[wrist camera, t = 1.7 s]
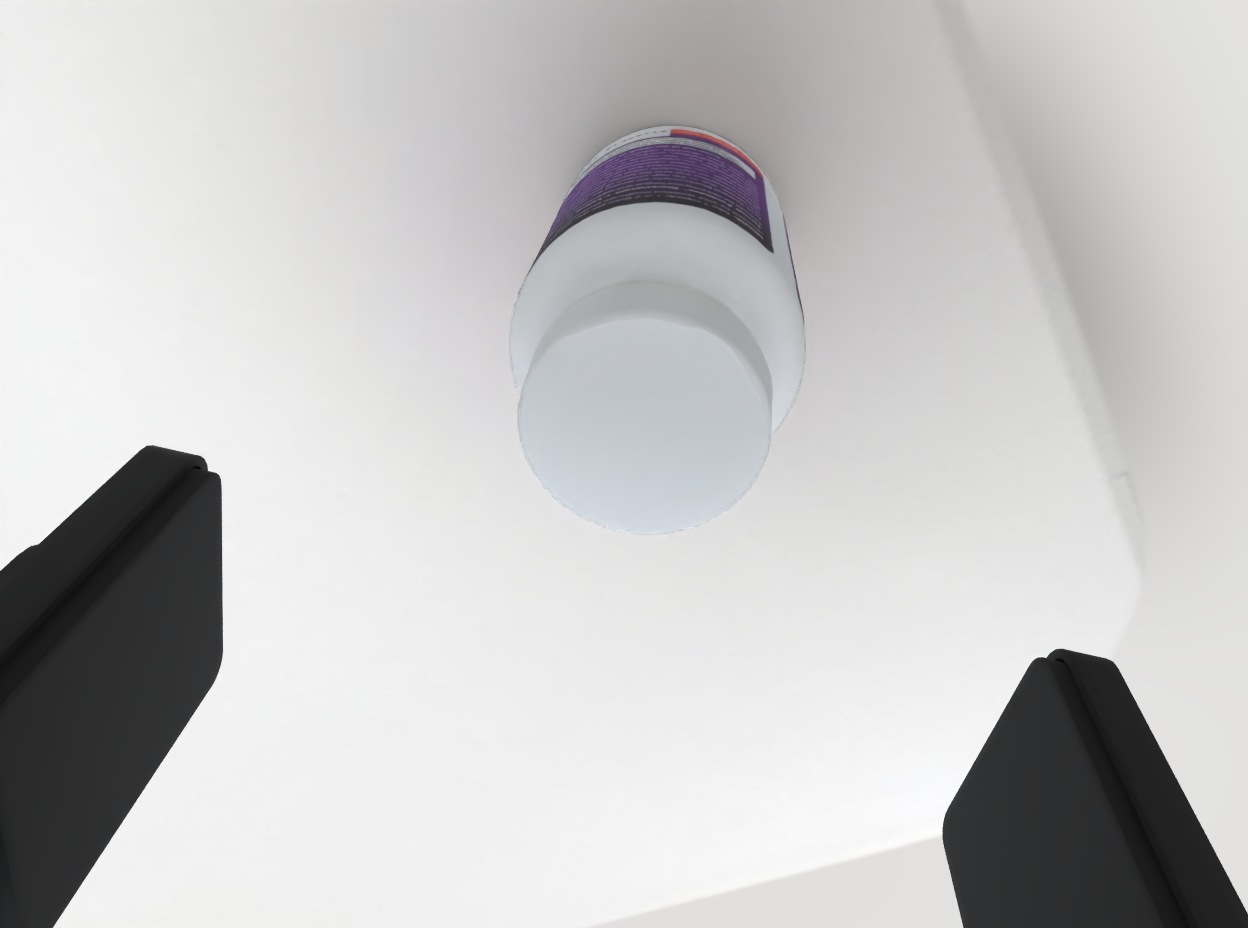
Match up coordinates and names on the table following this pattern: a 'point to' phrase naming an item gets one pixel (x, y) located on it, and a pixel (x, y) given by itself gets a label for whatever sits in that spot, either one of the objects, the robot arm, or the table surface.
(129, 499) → the robot arm
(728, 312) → the pill bottle
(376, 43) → the table surface
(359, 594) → the table surface
